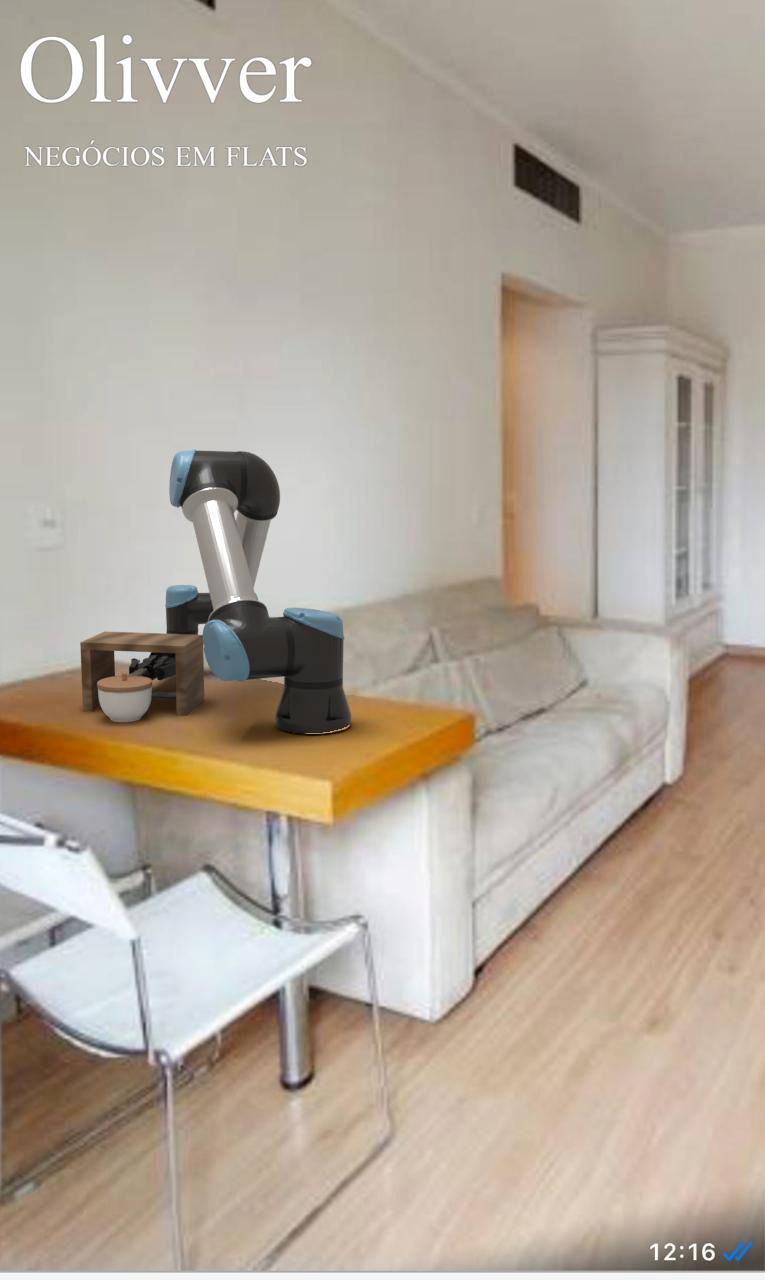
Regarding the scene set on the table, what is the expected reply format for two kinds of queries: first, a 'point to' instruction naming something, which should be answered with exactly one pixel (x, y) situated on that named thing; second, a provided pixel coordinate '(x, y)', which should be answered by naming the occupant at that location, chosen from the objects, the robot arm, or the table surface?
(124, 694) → the lidded jar
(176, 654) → the tunnel
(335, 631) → the robot arm
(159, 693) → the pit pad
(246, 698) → the table surface
